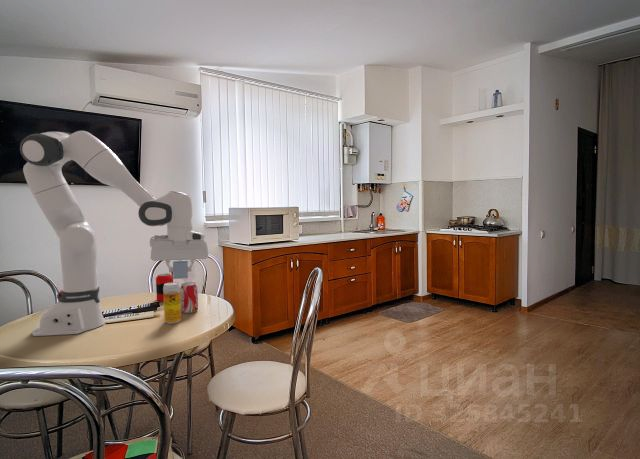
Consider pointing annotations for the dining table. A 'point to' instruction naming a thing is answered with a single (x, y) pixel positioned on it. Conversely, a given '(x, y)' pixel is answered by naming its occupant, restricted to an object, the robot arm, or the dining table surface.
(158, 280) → the soda can
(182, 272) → the slate block
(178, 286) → the beer can
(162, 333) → the dining table surface
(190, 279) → the champagne flute
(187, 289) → the soda can
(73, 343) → the dining table surface
